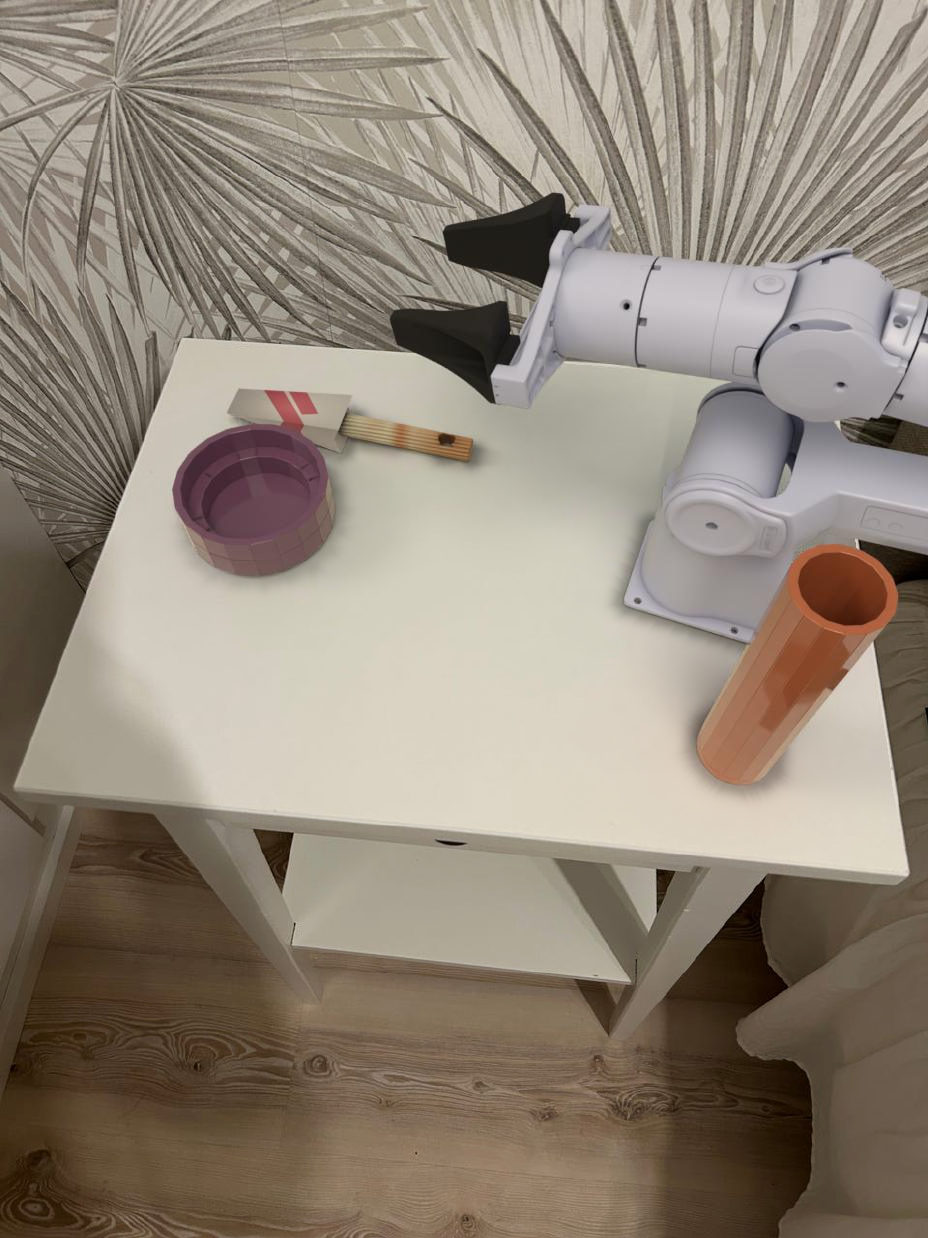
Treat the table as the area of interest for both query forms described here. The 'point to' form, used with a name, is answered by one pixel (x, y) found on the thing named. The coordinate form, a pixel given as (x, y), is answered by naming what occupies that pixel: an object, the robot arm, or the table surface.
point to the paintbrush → (339, 422)
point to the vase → (796, 658)
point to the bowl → (255, 499)
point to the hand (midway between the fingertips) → (422, 284)
